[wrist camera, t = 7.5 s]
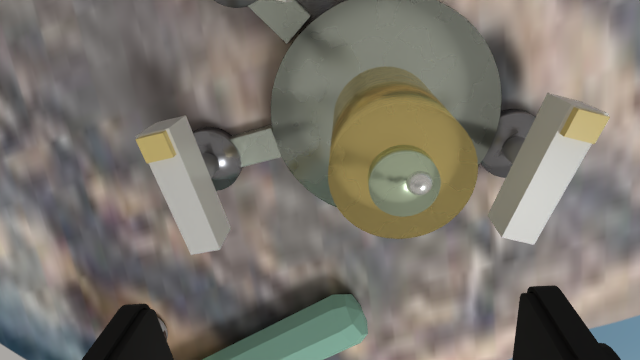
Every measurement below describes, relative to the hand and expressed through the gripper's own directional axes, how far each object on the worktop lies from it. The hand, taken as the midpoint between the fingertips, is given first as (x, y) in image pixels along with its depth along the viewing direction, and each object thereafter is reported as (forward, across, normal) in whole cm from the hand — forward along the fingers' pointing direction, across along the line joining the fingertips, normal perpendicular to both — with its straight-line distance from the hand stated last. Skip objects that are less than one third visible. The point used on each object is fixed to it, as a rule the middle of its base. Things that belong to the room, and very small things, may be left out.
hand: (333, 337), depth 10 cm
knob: (+20, +11, +3) cm, 23 cm away
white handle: (+20, -12, +4) cm, 24 cm away
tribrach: (+22, -3, 0) cm, 22 cm away
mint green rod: (+22, +11, +24) cm, 34 cm away
